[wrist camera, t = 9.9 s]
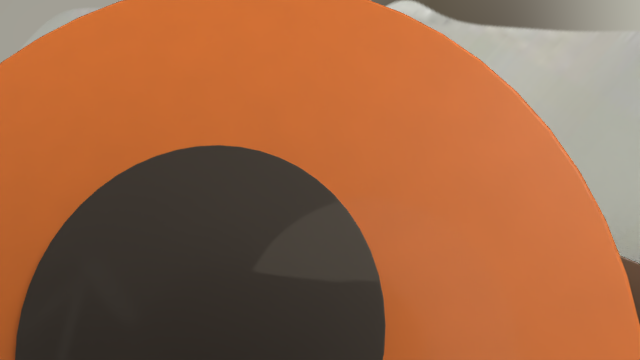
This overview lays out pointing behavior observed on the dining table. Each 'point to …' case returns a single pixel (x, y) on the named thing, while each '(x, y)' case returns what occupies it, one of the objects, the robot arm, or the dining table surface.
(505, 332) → the orange cylinder
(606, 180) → the dining table surface
